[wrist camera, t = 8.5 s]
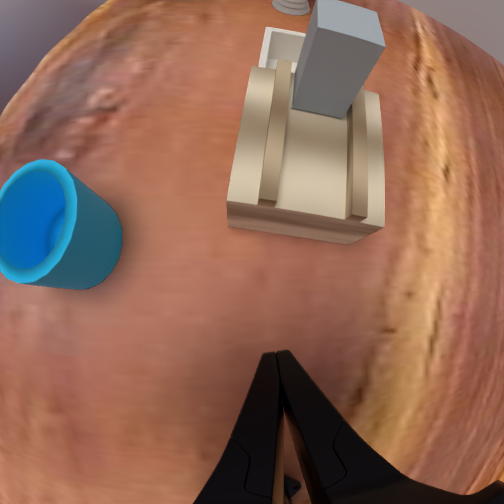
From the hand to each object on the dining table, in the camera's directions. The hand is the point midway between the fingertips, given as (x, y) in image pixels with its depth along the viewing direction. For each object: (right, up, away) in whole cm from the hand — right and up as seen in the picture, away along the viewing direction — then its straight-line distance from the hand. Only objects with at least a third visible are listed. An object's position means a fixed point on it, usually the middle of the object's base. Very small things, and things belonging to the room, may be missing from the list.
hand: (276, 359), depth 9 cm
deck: (+3, +10, +16) cm, 19 cm away
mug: (-17, +5, +14) cm, 23 cm away
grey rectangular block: (+4, +15, +10) cm, 18 cm away
